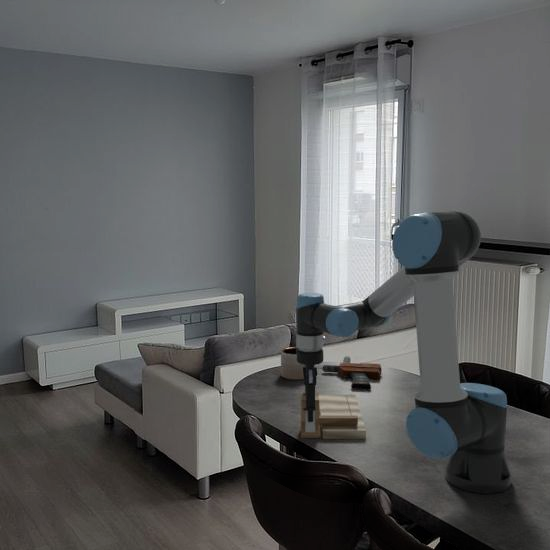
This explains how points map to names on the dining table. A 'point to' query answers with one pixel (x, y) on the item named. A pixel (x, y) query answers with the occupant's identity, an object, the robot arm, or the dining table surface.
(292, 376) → the planter
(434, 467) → the dining table surface
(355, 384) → the tool
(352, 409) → the board
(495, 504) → the dining table surface
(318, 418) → the brown block with tab
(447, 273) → the robot arm
